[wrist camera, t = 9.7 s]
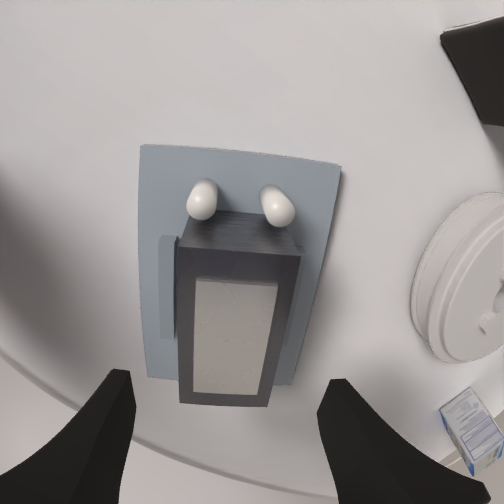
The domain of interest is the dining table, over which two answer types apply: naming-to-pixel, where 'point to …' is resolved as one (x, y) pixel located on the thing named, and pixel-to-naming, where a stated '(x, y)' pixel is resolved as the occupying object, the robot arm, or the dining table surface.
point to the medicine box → (473, 431)
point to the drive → (232, 307)
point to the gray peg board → (227, 199)
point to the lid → (463, 282)
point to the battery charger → (480, 64)
